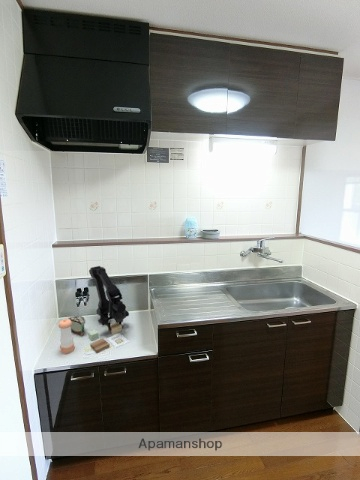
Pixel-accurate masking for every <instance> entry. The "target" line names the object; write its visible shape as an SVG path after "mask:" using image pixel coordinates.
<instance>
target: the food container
mask: <svg viewBox="0 0 360 480" xmlns="http://www.w3.org/2000/svg"><path fill="white" fill-rule="evenodd" d="M67 319H70V320H71V321H72V325H71V332H72V335H76V336H79V337H83V336H84V335H85V324H86V319H85V318H84V316H82V315H74V316H70V317H68V318H67Z"/></svg>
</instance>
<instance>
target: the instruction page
mask: <svg viewBox="0 0 360 480" xmlns="http://www.w3.org/2000/svg"><path fill="white" fill-rule="evenodd" d="M106 341H107V342H108V343H109V344H111V345H112V346H113V347H114V348H117V349H118V348H119V347H121V346H123V345H125V344H128V343H130V340H128V339H127V338H126V337H125V336H124V335H123V334H121V333H120V332H117V333H115V334H113V335H112V336H110V337H107V338H106Z"/></svg>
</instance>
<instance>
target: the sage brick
mask: <svg viewBox="0 0 360 480" xmlns="http://www.w3.org/2000/svg"><path fill="white" fill-rule="evenodd" d="M87 333H88V339H89V341H92V342H94V341H97V339H98V340H99V339H100V338H99V337H100V335H99V332H98V331H97V329H94V330H90V331H88V332H87Z"/></svg>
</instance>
